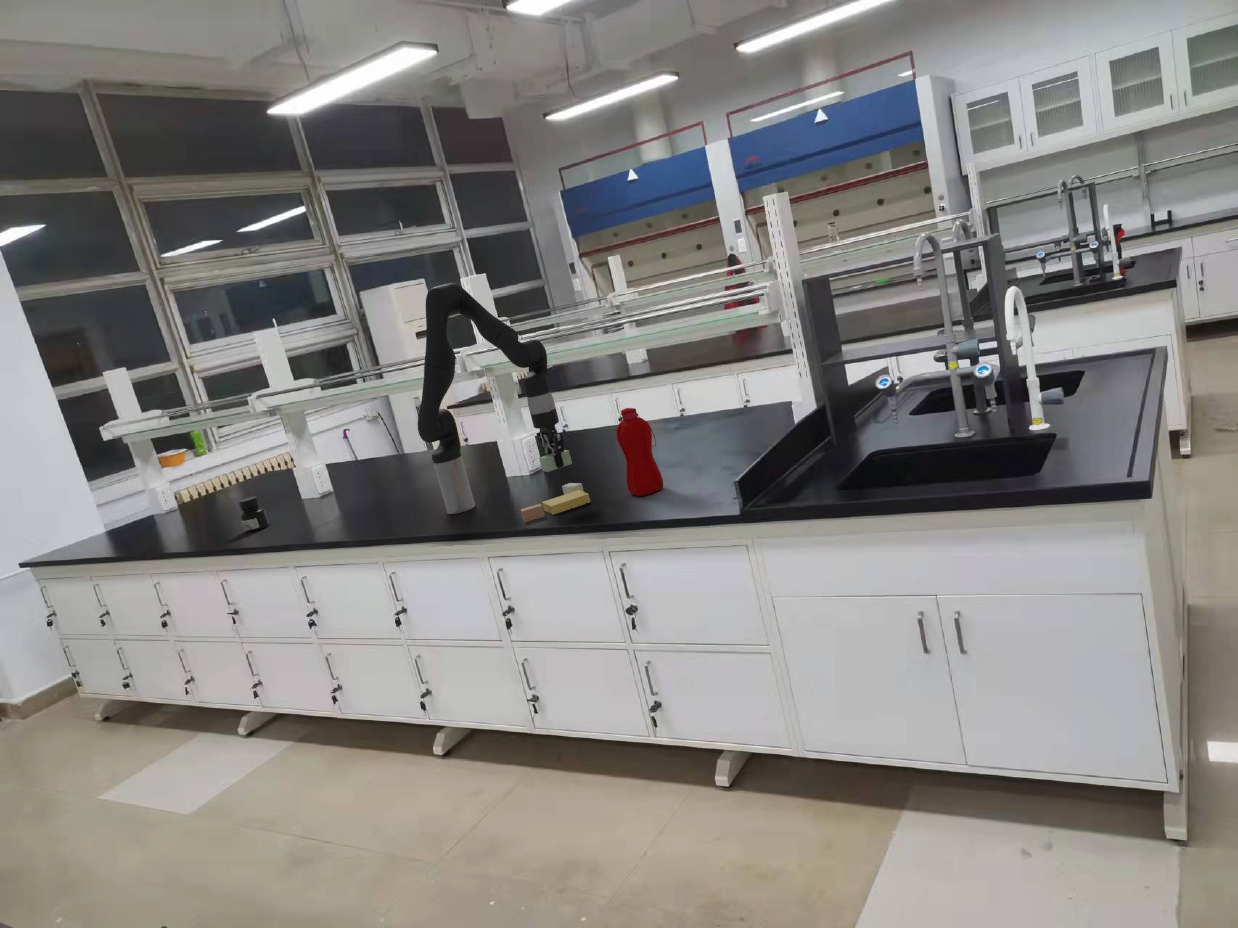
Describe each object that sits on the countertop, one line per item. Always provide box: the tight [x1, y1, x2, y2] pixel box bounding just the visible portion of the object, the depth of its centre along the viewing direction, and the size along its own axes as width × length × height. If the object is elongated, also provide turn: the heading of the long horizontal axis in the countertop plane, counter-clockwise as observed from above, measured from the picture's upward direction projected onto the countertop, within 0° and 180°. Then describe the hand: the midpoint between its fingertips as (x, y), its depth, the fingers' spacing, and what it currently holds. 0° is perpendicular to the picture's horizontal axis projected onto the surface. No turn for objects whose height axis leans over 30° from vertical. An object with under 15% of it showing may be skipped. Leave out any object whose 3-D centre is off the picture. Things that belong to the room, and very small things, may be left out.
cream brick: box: [561, 482, 585, 495], centre depth 266 cm, size 6×3×4 cm, turn 44°
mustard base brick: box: [541, 490, 591, 516], centre depth 255 cm, size 8×12×3 cm, turn 114°
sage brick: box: [538, 449, 573, 473], centre depth 252 cm, size 4×8×4 cm, turn 119°
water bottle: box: [615, 407, 664, 497], centre depth 248 cm, size 9×11×25 cm
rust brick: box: [520, 503, 545, 523], centre depth 250 cm, size 6×3×4 cm, turn 104°
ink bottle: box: [238, 495, 270, 533], centre depth 326 cm, size 10×9×12 cm
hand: (557, 466), depth 252 cm, fingers closed on sage brick, 4 cm apart
